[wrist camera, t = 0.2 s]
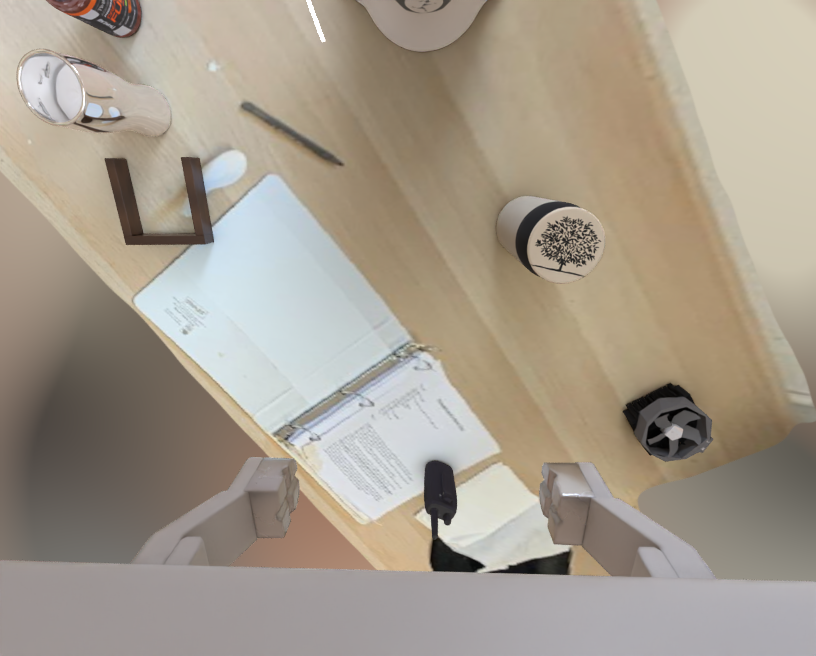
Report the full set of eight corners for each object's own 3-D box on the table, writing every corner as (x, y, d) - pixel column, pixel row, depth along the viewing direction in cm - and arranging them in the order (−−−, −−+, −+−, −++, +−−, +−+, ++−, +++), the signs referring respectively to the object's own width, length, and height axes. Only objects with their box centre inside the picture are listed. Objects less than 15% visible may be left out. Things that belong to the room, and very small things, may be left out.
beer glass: (120, 130, 54) (14, 114, 40) (123, 72, 52) (12, 34, 38) (172, 147, 55) (85, 138, 41) (178, 91, 53) (88, 60, 39)
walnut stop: (117, 159, 56) (104, 158, 53) (199, 157, 55) (189, 157, 53) (137, 242, 60) (125, 244, 57) (214, 241, 59) (205, 244, 57)
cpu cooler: (632, 425, 61) (699, 393, 58) (615, 405, 66) (676, 374, 64) (658, 473, 64) (724, 444, 61) (640, 450, 69) (700, 423, 67)
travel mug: (510, 186, 55) (548, 191, 38) (564, 208, 56) (624, 221, 39) (486, 242, 58) (511, 270, 41) (537, 262, 58) (583, 297, 42)
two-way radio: (420, 469, 72) (419, 541, 58) (431, 451, 70) (433, 519, 56) (448, 481, 73) (454, 554, 59) (460, 462, 71) (469, 533, 57)
